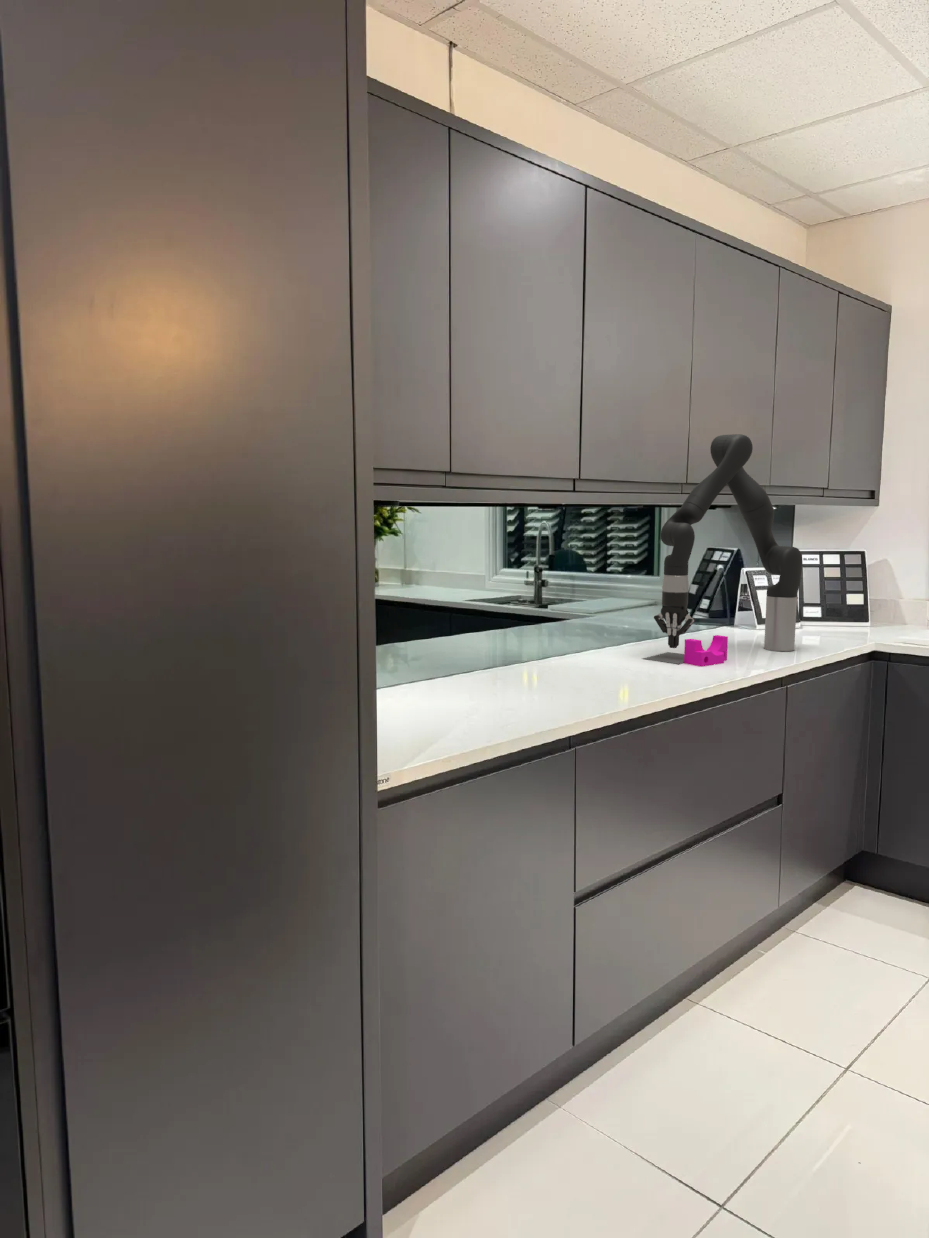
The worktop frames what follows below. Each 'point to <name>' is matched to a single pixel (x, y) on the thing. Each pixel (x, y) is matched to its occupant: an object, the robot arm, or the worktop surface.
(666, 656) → the rubber mat
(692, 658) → the magenta pipe clamp
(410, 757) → the worktop surface
